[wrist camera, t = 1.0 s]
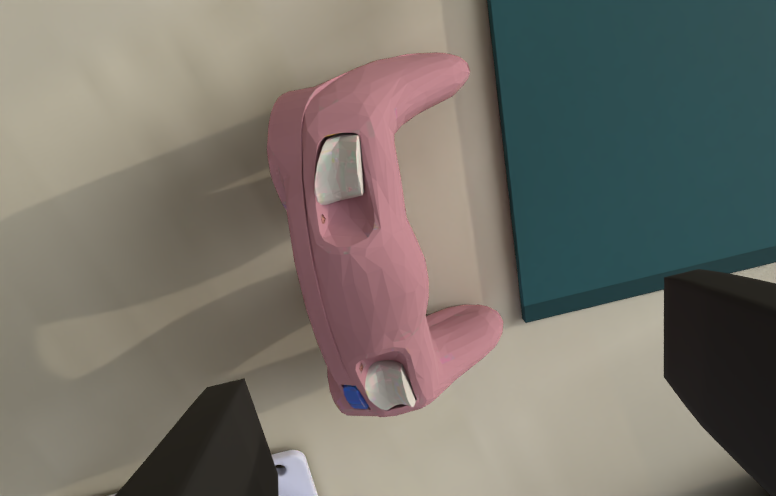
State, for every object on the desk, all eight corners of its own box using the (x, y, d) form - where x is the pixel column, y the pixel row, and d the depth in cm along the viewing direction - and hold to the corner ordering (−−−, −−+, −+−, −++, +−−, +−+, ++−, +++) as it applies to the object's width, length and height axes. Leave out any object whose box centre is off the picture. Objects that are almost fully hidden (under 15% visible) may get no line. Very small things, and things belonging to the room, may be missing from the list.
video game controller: (332, 64, 17) (194, 105, 11) (473, 36, 15) (399, 67, 9) (391, 327, 21) (311, 465, 15) (510, 328, 19) (475, 485, 13)
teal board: (522, 318, 20) (525, 323, 19) (467, -171, 14) (471, -176, 14) (800, 251, 20) (807, 254, 20) (854, -244, 15) (865, -250, 14)
